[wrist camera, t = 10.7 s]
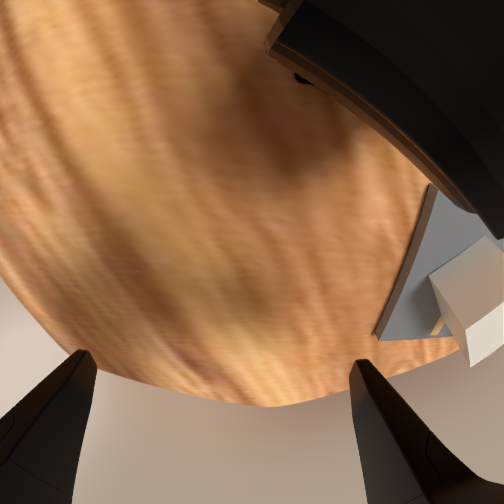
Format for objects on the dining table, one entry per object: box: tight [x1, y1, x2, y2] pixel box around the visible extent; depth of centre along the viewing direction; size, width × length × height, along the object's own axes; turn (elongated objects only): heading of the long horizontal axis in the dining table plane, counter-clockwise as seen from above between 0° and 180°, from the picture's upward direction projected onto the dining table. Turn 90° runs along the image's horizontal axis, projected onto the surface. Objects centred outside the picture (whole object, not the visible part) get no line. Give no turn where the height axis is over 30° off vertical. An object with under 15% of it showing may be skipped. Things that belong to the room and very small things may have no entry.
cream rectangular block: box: [429, 236, 504, 367], centre depth 19 cm, size 6×10×6 cm, turn 37°
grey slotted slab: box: [375, 183, 504, 341], centre depth 19 cm, size 14×12×5 cm
